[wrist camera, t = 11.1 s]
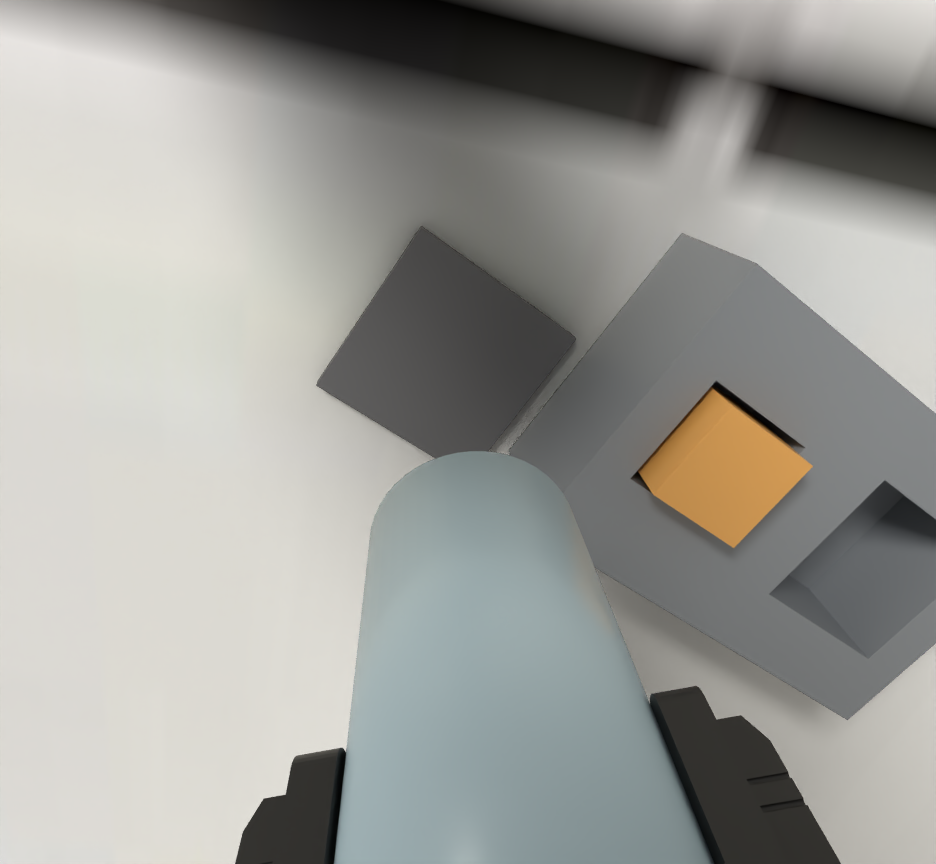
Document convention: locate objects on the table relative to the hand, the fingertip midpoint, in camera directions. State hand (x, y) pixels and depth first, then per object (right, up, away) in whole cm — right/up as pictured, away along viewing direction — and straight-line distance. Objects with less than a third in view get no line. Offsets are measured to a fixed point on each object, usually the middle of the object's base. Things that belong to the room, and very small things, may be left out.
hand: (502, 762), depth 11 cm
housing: (+12, +4, +22) cm, 26 cm away
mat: (-2, +8, +20) cm, 21 cm away
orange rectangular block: (+8, +6, +18) cm, 20 cm away
